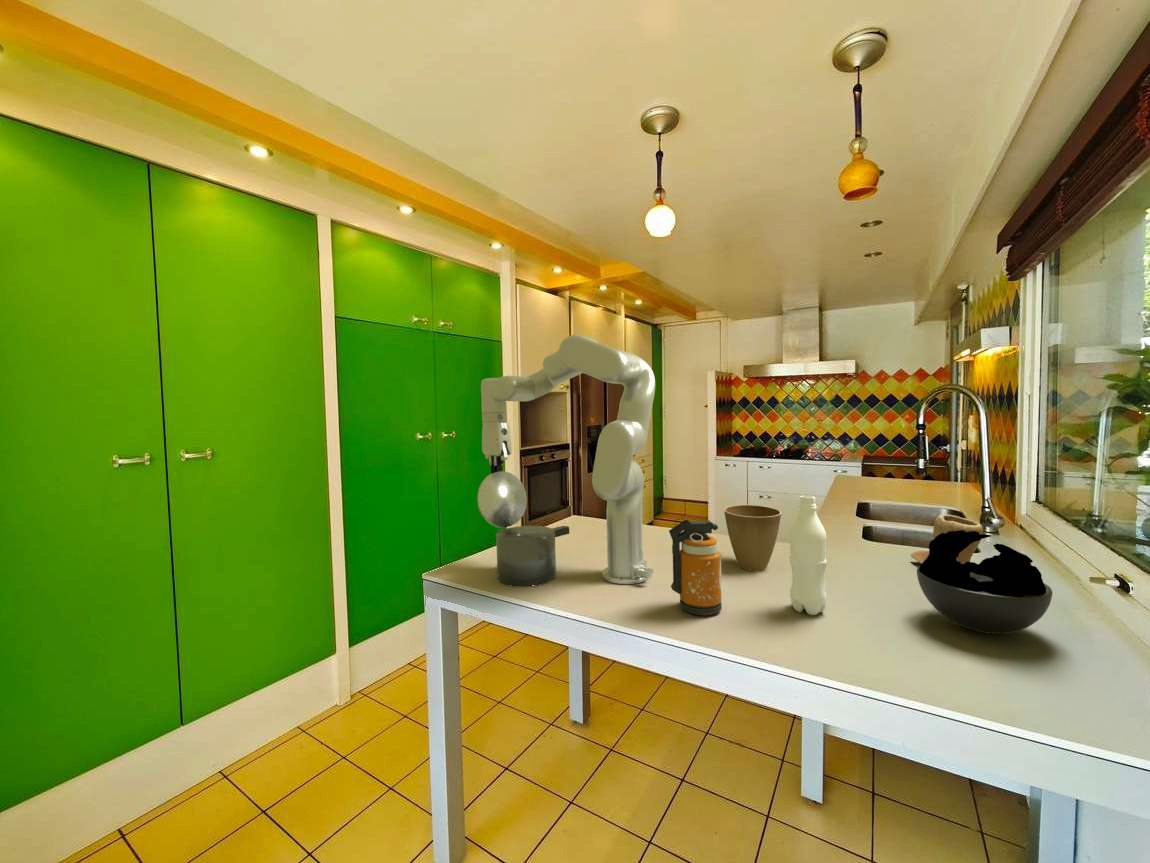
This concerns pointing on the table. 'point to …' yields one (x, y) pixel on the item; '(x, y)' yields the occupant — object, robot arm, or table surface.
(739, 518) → the plant pot
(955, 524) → the stone cup
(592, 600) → the table surface
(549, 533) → the cooker pot
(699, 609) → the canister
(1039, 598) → the coal bowl
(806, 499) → the water bottle
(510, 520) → the lid
